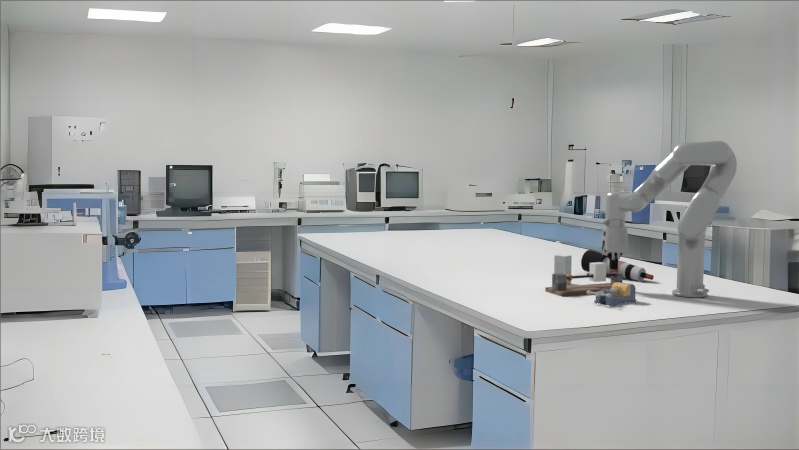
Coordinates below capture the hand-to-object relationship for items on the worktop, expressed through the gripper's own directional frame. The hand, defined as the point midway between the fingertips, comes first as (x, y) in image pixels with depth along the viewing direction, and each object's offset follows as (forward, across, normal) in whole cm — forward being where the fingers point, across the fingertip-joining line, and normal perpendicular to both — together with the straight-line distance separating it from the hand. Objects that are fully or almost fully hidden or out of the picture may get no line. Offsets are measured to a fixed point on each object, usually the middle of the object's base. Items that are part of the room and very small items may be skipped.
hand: (613, 269), depth 309 cm
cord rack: (+8, -12, 0) cm, 15 cm away
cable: (+9, +20, +24) cm, 32 cm away
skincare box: (+8, -11, +19) cm, 24 cm away
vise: (+9, -16, -23) cm, 29 cm away
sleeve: (+4, -7, 0) cm, 9 cm away
